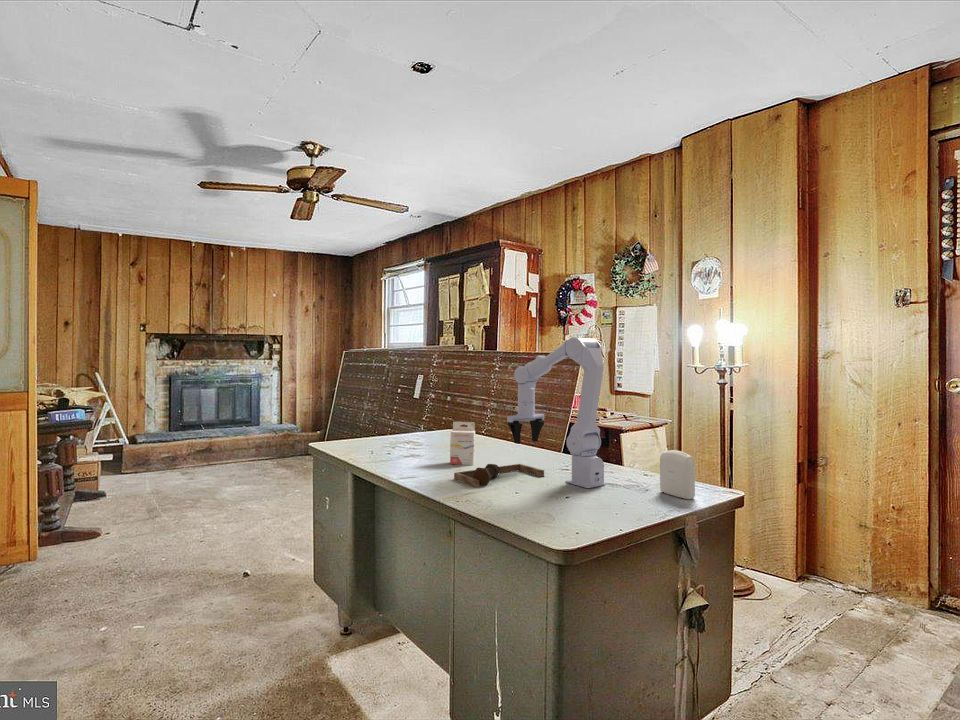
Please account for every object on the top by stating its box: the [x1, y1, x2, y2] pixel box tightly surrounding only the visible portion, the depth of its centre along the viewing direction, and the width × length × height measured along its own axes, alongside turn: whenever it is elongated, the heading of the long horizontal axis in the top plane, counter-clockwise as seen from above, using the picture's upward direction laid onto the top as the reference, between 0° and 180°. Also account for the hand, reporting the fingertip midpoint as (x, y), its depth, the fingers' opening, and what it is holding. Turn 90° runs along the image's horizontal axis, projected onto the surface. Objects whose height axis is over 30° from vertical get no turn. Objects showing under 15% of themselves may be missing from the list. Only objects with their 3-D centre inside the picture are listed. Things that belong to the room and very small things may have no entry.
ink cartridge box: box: [449, 421, 476, 466], centre depth 190 cm, size 9×5×15 cm, turn 84°
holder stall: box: [453, 463, 545, 488], centre depth 168 cm, size 12×26×2 cm, turn 124°
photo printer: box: [659, 449, 696, 500], centre depth 148 cm, size 10×4×12 cm, turn 26°
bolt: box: [472, 463, 500, 487], centre depth 165 cm, size 6×5×15 cm
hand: (526, 442), depth 179 cm, fingers open, 7 cm apart
